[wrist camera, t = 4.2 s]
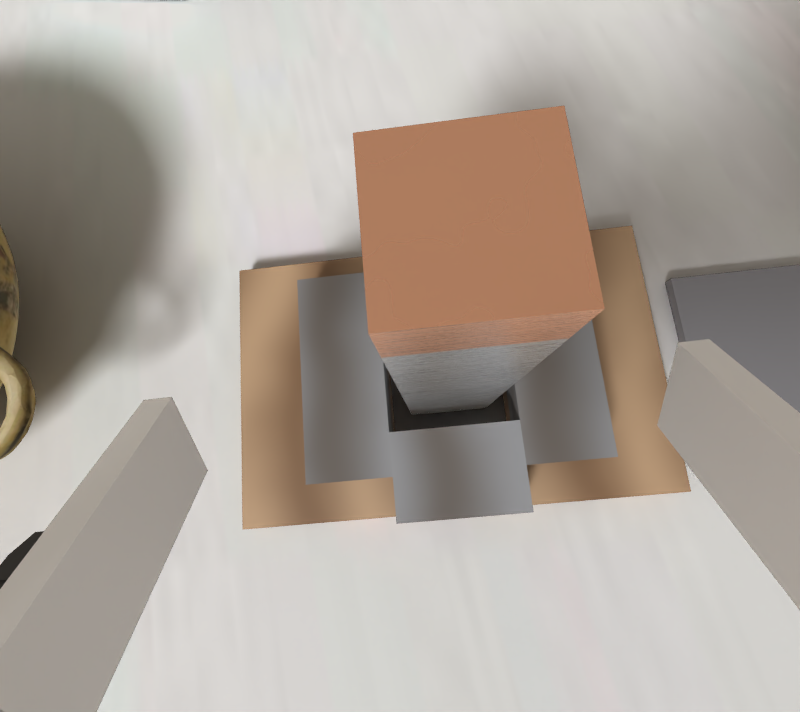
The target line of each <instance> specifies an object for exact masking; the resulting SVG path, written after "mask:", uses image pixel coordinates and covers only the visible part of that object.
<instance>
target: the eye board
mask: <svg viewBox="0 0 800 712" xmlns="http://www.w3.org/2000/svg"><path fill="white" fill-rule="evenodd" d="M589 232H590V237H591V242H592V247H593V252H594V257H595V262H596V267H597V272H598V277H599V282H600V287H601V292H602V297H603V302H604V307H605V309H604V310H603V311H601V312H600V313H599V314H598V315H597V316H595V317H594V318H593V319H592V320H591V321H589V322H588V323H587V324H586V325H585V326H583V327H582V328H581V329H580V330H579V331H577V332H576V333H575V334H574V335H573V336H571V337H570V338H569V339H568V340H567V341H565V342H564V343H563V344H562V345H561V346H559V347H558V348H557V349H556V350H555V351H553V352H552V353H551V354H550V355H549V356H547V357H546V358H545V359H544V360H543V361H541V362H540V363H539V364H538V365H537V366H535V367H534V368H533V369H532V370H531V371H529V372H528V373H527V374H526V375H525V376H523V377H522V378H521V379H520V380H519V381H517V382H516V383H515V384H514V385H513V386H511V387H510V388H509V389H508V390H507V391H505V392H504V393H503V399H504V407H505V414H506V421H503V422H493V423H482V424H471V425H461V426H450V427H440V428H429V429H419V430H408V431H397V432H395V425H394V413H393V402H392V390H391V378H390V373H389V371H388V369H387V368H386V366H385V364H384V362H383V360H382V358H381V356H380V355H379V353H378V351H377V349H376V347H375V345H374V343H373V342H372V340H371V338H370V336H369V334H368V323H367V310H366V297H365V284H364V271H363V258H362V257H355V258H347V259H338V260H329V261H321V262H312V263H303V264H294V265H286V266H277V267H268V268H260V269H251V270H242V271H240V347H241V432H242V517H243V529H254V528H266V527H277V526H289V525H301V524H313V523H324V522H336V521H348V520H360V519H372V518H383V517H395V516H396V522H397V524H398V523H410V522H422V521H434V520H446V519H458V518H470V517H482V516H494V515H505V514H517V513H529V512H533V505H537V504H549V503H560V502H572V501H584V500H596V499H608V498H619V497H631V496H643V495H655V494H666V493H678V492H690V491H691V489H690V484H689V480H688V476H687V471H686V467H685V462H684V460H683V458H682V457H681V456H680V454H679V453H678V452H677V451H676V449H675V448H674V447H673V445H672V444H671V443H670V441H669V440H668V439H667V438H666V436H665V435H664V434H663V432H662V431H661V430H660V429H659V427H658V426H657V424H658V420H659V416H660V412H661V408H662V404H663V400H664V396H665V392H666V388H667V381H666V377H665V372H664V368H663V363H662V359H661V354H660V350H659V345H658V341H657V336H656V332H655V327H654V323H653V318H652V314H651V309H650V305H649V300H648V296H647V291H646V287H645V282H644V278H643V274H642V269H641V265H640V260H639V256H638V251H637V247H636V242H635V238H634V233H633V229H632V226H625V227H616V228H607V229H599V230H590V231H589Z"/></svg>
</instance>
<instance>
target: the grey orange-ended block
mask: <svg viewBox="0 0 800 712" xmlns="http://www.w3.org/2000/svg"><path fill="white" fill-rule="evenodd" d="M353 141H354V154H355V167H356V180H357V193H358V206H359V219H360V232H361V245H362V258H363V271H364V284H365V297H366V310H367V323H368V334H369V336H370V338H371V340H372V342H373V343H374V345H375V347H376V349H377V351H378V353H379V355H380V356H381V358H382V360H383V362H384V364H385V366H386V368H387V369H388V371H389V373H390V375H391V377H392V379H393V380H394V382H395V384H396V386H397V388H398V390H399V392H400V393H401V395H402V397H403V399H404V401H405V403H406V405H407V406H408V408H409V410H410V412H411V414H412V415H417V414H427V413H438V412H448V411H458V410H469V409H479V408H486V407H487V406H489V405H490V404H491V403H492V402H493V401H495V400H496V399H497V398H498V397H499V396H501V395H502V394H503V393H504V392H505V391H507V390H508V389H509V388H510V387H511V386H513V385H514V384H515V383H516V382H517V381H519V380H520V379H521V378H522V377H523V376H525V375H526V374H527V373H528V372H529V371H531V370H532V369H533V368H534V367H535V366H537V365H538V364H539V363H540V362H541V361H543V360H544V359H545V358H546V357H547V356H549V355H550V354H551V353H552V352H553V351H555V350H556V349H557V348H558V347H559V346H561V345H562V344H563V343H564V342H565V341H567V340H568V339H569V338H570V337H571V336H573V335H574V334H575V333H576V332H577V331H579V330H580V329H581V328H582V327H583V326H585V325H586V324H587V323H588V322H589V321H591V320H592V319H593V318H594V317H595V316H597V315H598V314H599V313H600V312H601V311H603V310H604V309H605V307H604V302H603V297H602V292H601V287H600V282H599V277H598V272H597V267H596V262H595V257H594V252H593V247H592V242H591V237H590V232H589V227H588V222H587V217H586V212H585V207H584V202H583V197H582V192H581V187H580V182H579V177H578V172H577V167H576V162H575V157H574V152H573V147H572V142H571V137H570V132H569V127H568V122H567V117H566V112H565V107H564V106H558V107H550V108H542V109H535V110H527V111H519V112H511V113H504V114H496V115H488V116H480V117H472V118H465V119H457V120H449V121H441V122H434V123H426V124H418V125H410V126H403V127H395V128H387V129H379V130H372V131H364V132H356V133H353Z"/></svg>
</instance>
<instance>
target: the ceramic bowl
mask: <svg viewBox="0 0 800 712" xmlns="http://www.w3.org/2000/svg"><path fill="white" fill-rule="evenodd" d="M18 320H19V286H18V278H17V273H16V268H15V263H14V259H13V255H12V252H11V249H10V247H9V244H8V241H7V239H6V236H5V234H4V232H3V229H2V227H1V225H0V389H1V386H2V384H4V386H5V390H6V395H7V409H6V417H5V419H4V421H3V423H2V425H1V428H0V459H2V458H4V457H6V456H7V455H8V454H10V453H11V452H12V451H13V450H14V449H15V448H16V447H17V446H18V444H19V443H20V442H21V440H22V439H23V438H24V436H25V435H26V433H27V432H28V429H29V427H30V425H31V422H32V419H33V415H34V410H35V404H36V399H35V391H34V388H33V386H32V382H31V378H30V376H29V374H28V373H27V371H26V369H25V368H24V367H23V366H22V365H21V364H20V363H19V362H18V361H17V360H16V359H15V358H14V357H13V356H12V354H13V350H14V345H15V341H16V334H17V327H18Z"/></svg>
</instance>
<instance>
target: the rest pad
mask: <svg viewBox="0 0 800 712" xmlns="http://www.w3.org/2000/svg"><path fill="white" fill-rule="evenodd" d="M665 284H666V288H667V292H668V296H669V301H670V305H671V309H672V314H673V318H674V322H675V326H676V331H677V335H678V339H679V342H687V341H696V340H705V339H710V340H711V341H712V342H713V343H715V344H716V345H717V346H718V347H719V348H721V349H722V350H723V351H724V352H726V353H727V354H728V355H729V356H731V357H732V358H733V359H734V360H735V361H737V362H738V363H739V364H740V365H742V366H743V367H744V368H745V369H746V370H748V371H749V372H750V373H751V374H753V375H754V376H755V377H756V378H757V379H759V380H760V381H761V382H762V383H764V384H765V385H766V386H767V387H769V388H770V389H771V390H772V391H773V392H775V393H776V394H777V395H778V396H780V397H781V398H782V399H783V400H784V401H786V402H787V403H788V404H789V405H791V406H792V407H793V408H794V409H795V410H797V411H798V412H799V413H800V265H792V266H782V267H773V268H764V269H755V270H746V271H736V272H727V273H718V274H709V275H700V276H690V277H681V278H672V279H670V280H668V281H667V282H666V283H665Z"/></svg>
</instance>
